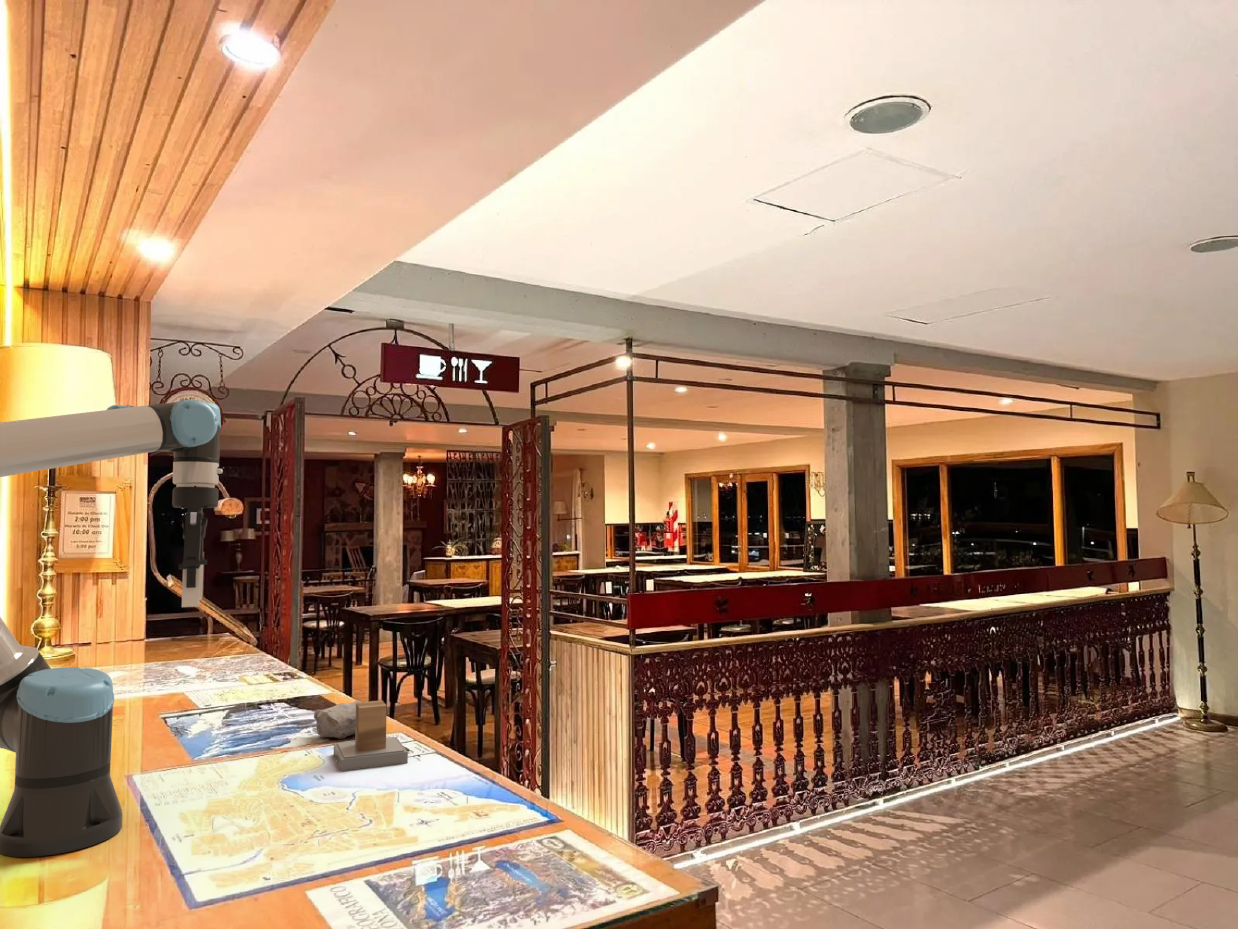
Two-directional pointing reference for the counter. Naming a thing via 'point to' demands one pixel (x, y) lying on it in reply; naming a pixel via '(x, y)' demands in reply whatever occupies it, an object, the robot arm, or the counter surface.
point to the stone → (336, 720)
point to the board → (370, 755)
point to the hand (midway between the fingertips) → (192, 603)
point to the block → (370, 725)
